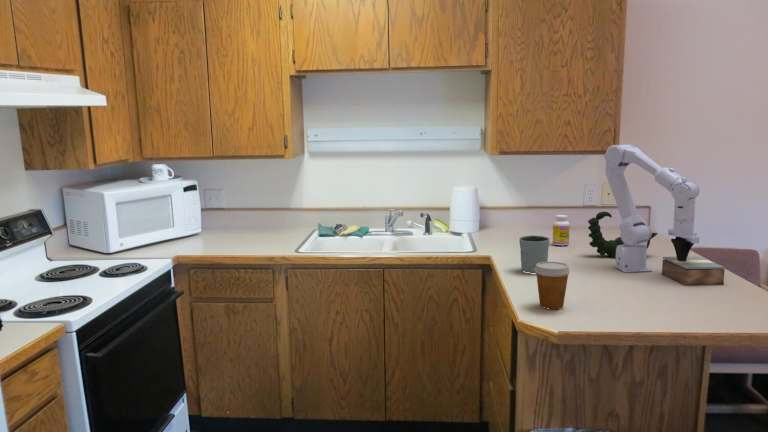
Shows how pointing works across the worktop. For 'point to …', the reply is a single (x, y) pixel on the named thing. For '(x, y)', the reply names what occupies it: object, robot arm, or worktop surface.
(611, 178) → the robot arm
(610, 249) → the toy figurine
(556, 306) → the disposable coffee cup
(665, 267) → the box
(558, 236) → the supplement bottle
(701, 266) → the lid
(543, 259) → the grey cup
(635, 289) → the worktop surface
